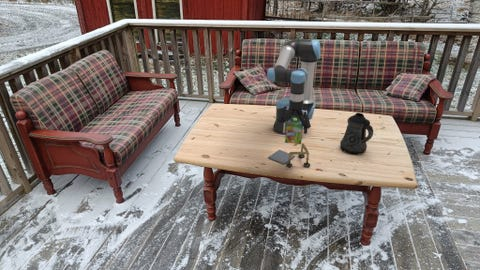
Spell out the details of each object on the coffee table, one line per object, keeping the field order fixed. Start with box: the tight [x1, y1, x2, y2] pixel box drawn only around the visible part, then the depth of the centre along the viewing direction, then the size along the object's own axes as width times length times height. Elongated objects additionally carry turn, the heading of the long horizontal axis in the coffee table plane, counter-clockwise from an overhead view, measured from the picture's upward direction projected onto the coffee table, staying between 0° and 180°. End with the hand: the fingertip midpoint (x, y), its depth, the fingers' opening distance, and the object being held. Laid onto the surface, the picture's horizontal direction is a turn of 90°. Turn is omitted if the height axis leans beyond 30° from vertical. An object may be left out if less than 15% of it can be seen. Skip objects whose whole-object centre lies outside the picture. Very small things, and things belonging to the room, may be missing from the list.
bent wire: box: [285, 142, 311, 169], centre depth 202 cm, size 12×18×10 cm, turn 139°
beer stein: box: [339, 112, 374, 156], centre depth 213 cm, size 16×19×25 cm
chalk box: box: [284, 116, 304, 145], centre depth 190 cm, size 9×9×15 cm
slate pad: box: [267, 149, 296, 166], centre depth 211 cm, size 12×12×1 cm
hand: (294, 135), depth 192 cm, fingers closed on chalk box, 11 cm apart
